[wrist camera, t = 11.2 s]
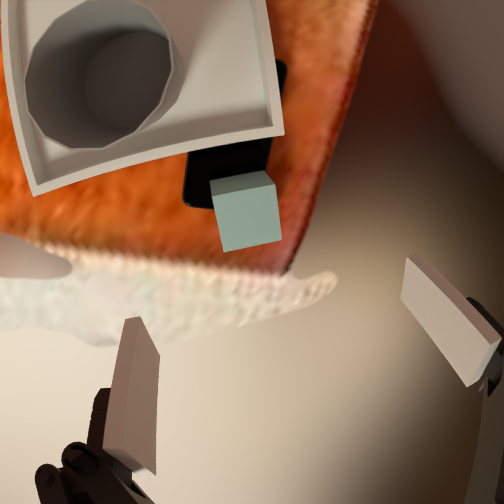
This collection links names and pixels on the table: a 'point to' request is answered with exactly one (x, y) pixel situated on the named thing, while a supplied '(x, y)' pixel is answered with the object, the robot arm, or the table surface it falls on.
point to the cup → (101, 74)
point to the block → (246, 210)
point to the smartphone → (226, 160)
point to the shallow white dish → (189, 100)
